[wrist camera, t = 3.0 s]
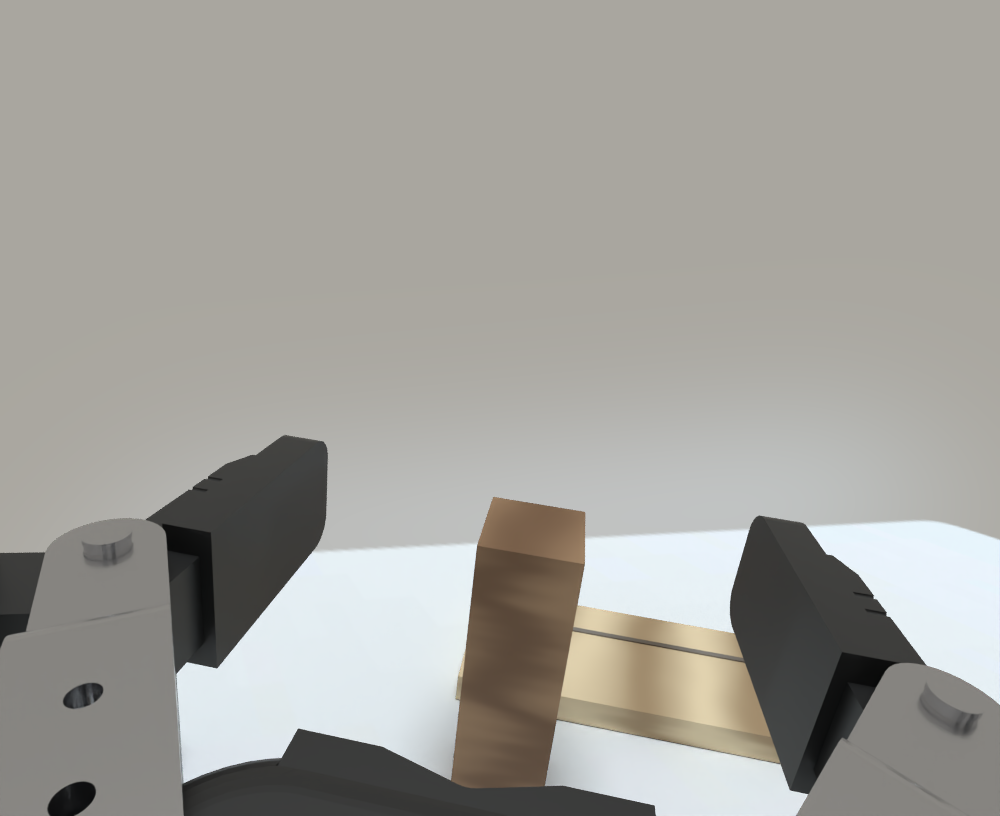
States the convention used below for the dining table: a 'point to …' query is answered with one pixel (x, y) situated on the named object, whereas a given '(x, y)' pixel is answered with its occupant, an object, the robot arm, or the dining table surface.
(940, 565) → the dining table surface
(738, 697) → the board
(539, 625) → the block
